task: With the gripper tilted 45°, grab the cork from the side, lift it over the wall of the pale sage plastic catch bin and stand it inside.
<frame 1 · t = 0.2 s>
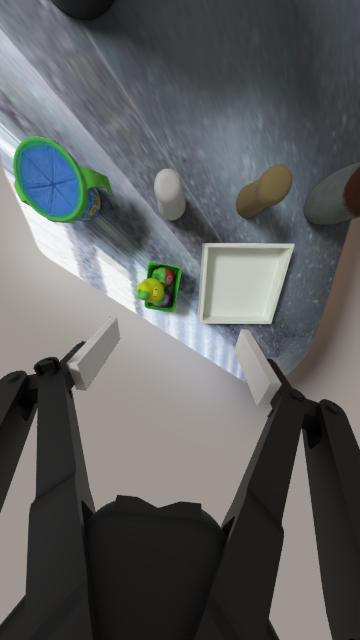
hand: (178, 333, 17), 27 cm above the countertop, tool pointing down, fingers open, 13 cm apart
fruit basket: (162, 283, 41), on the countertop
catch bin: (236, 284, 41), on the countertop
snack cup: (85, 200, 34), on the countertop
bottle: (322, 202, 34), on the countertop
cork: (249, 202, 34), on the countertop
salt shaker: (172, 206, 34), on the countertop
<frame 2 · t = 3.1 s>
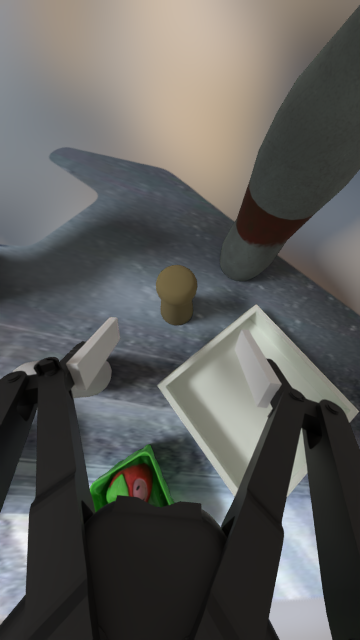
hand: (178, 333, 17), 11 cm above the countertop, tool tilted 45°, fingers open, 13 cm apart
fruit basket: (143, 487, 22), on the countertop
catch bin: (244, 392, 25), on the countertop
bottle: (238, 264, 31), on the countertop
cork: (176, 309, 29), on the countertop
salt shaker: (99, 373, 26), on the countertop
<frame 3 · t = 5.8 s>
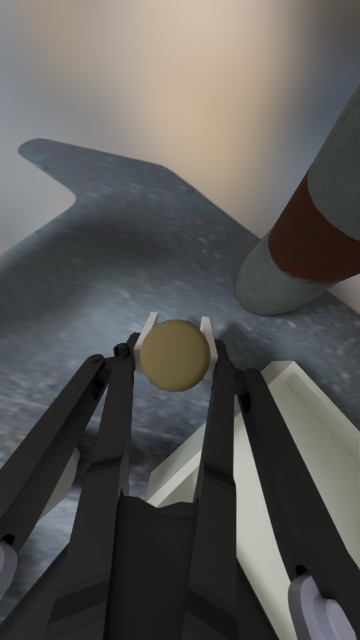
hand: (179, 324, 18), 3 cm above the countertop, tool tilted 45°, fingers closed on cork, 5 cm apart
catch bin: (275, 490, 17), on the countertop
bottle: (259, 291, 23), on the countertop
cork: (176, 357, 21), on the countertop, touching gripper
salt shaker: (63, 458, 18), on the countertop
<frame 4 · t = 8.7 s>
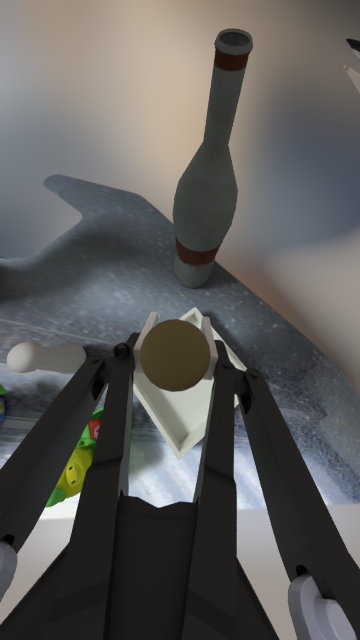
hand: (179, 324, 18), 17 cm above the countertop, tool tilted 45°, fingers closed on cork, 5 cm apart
fruit basket: (106, 438, 30), on the countertop
catch bin: (186, 372, 33), on the countertop
bottle: (191, 274, 40), on the countertop
cork: (176, 357, 21), point 14 cm above the countertop, touching gripper
salt shaker: (78, 358, 34), on the countertop
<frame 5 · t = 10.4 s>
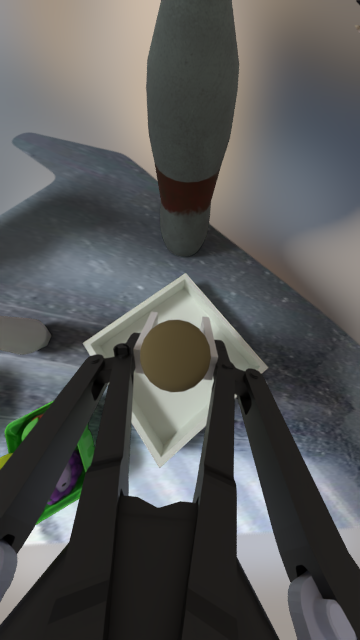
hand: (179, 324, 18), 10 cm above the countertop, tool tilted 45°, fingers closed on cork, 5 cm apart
fruit basket: (70, 438, 23), on the countertop
catch bin: (175, 356, 27), on the countertop
bottle: (183, 241, 33), on the countertop
cork: (176, 357, 21), point 6 cm above the countertop, touching gripper
salt shaker: (40, 338, 27), on the countertop
when the fingers open (5 cm above the countertop, at t = 11.5 s): cork drops 1 cm, resting on catch bin.
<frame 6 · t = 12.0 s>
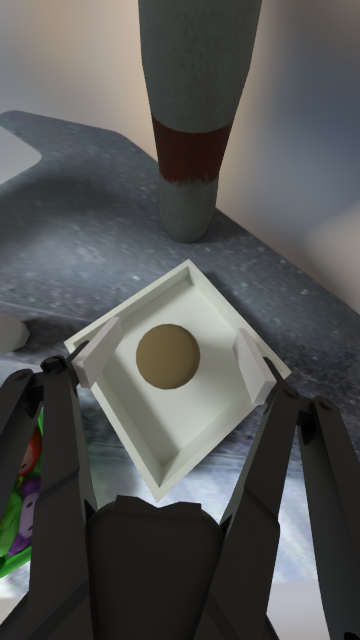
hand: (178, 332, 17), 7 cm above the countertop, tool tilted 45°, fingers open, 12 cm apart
fruit basket: (49, 458, 19), on the countertop
catch bin: (176, 357, 22), on the countertop
bottle: (185, 226, 29), on the countertop
cork: (172, 357, 22), point 1 cm above the countertop, touching catch bin
salt shaker: (17, 336, 23), on the countertop
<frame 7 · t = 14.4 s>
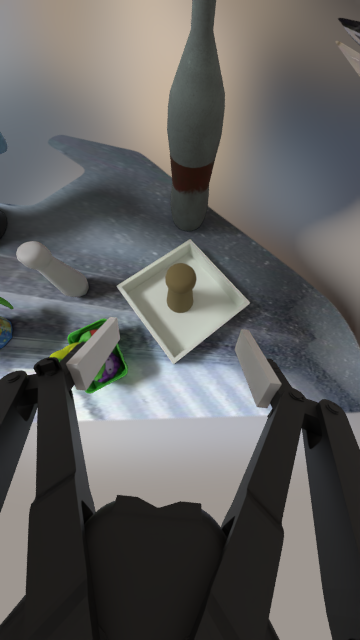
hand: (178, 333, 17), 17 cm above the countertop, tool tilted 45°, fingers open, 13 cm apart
fruit basket: (106, 356, 32), on the countertop
catch bin: (182, 301, 35), on the countertop
bottle: (188, 219, 42), on the countertop
cork: (179, 300, 35), point 1 cm above the countertop, touching catch bin
salt shaker: (80, 289, 36), on the countertop
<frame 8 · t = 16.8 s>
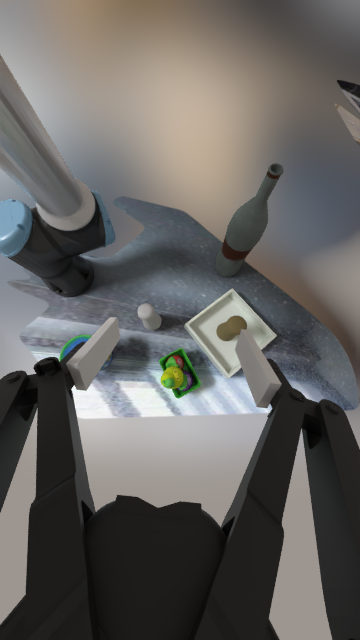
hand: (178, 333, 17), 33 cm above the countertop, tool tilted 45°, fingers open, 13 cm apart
fruit basket: (177, 372, 47), on the countertop
catch bin: (226, 332, 50), on the countertop
snack cup: (101, 357, 48), on the countertop
bottle: (225, 268, 56), on the countertop
cork: (225, 332, 49), point 1 cm above the countertop, touching catch bin
salt shaker: (153, 323, 51), on the countertop
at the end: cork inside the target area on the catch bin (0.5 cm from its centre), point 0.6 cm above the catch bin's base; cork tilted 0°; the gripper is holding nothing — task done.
